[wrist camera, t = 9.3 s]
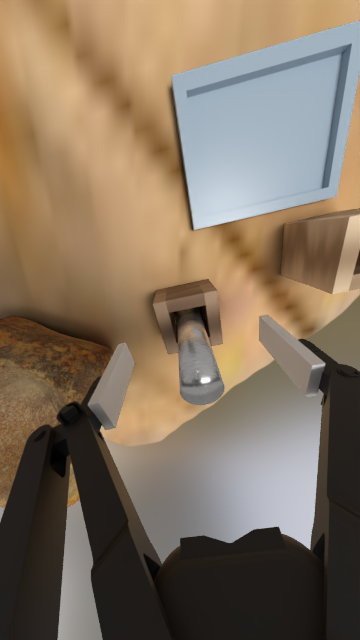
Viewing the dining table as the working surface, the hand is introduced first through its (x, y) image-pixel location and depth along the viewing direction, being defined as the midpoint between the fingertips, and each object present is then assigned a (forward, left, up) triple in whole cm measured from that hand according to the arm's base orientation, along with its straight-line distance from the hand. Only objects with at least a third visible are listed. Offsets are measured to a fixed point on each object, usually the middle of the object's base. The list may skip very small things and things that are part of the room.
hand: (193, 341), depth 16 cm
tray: (-15, +10, -8) cm, 20 cm away
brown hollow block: (0, 0, -8) cm, 8 cm away
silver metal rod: (0, 0, -8) cm, 8 cm away
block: (-5, +16, -8) cm, 19 cm away
